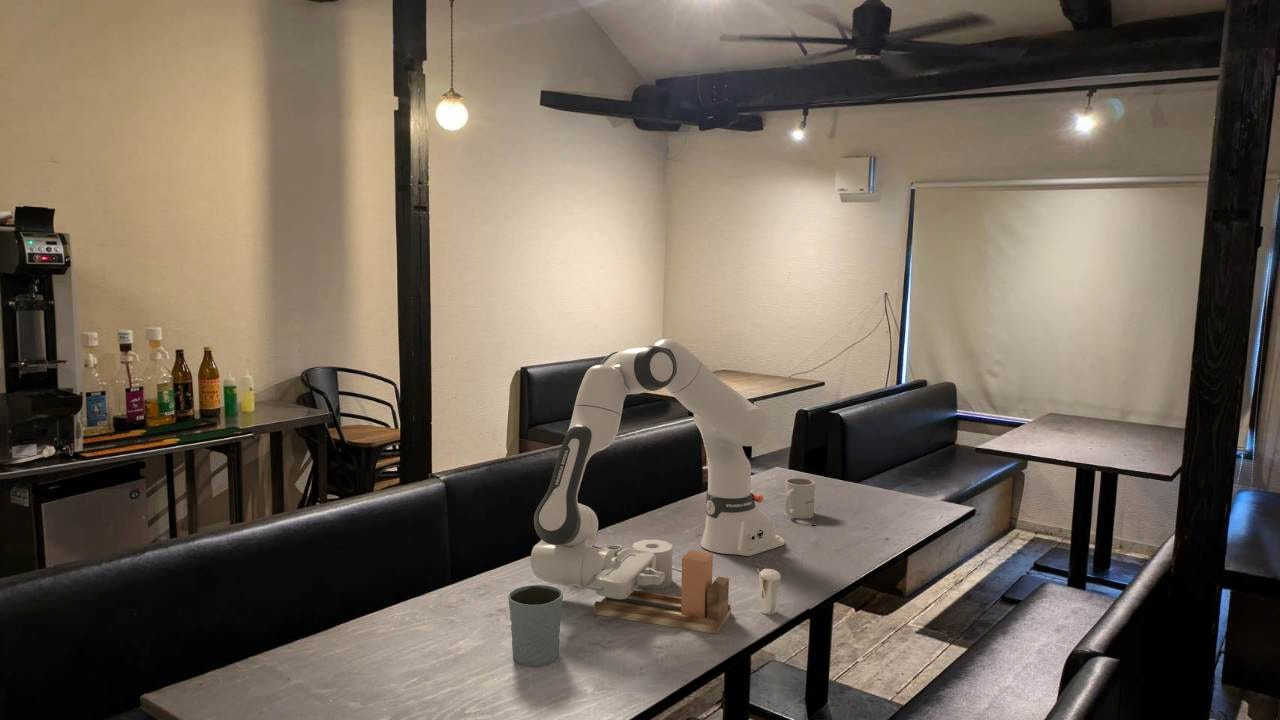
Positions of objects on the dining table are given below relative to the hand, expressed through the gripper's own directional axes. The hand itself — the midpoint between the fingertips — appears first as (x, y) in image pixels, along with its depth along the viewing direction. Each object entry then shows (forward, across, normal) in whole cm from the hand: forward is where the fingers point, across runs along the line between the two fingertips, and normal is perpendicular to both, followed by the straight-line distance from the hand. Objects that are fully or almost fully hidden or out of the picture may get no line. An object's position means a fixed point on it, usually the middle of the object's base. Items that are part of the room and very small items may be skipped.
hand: (662, 578), depth 176 cm
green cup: (-16, -27, +8) cm, 32 cm away
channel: (0, 0, +8) cm, 8 cm away
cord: (-1, 0, +6) cm, 6 cm away
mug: (+14, +82, +8) cm, 84 cm away
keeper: (+8, 0, +6) cm, 10 cm away
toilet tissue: (-9, +16, +8) cm, 21 cm away
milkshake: (+21, +9, +8) cm, 24 cm away
